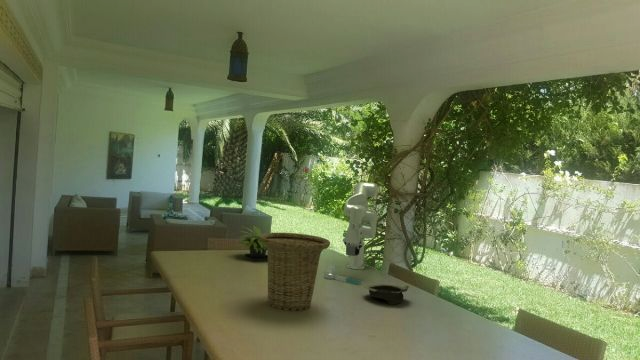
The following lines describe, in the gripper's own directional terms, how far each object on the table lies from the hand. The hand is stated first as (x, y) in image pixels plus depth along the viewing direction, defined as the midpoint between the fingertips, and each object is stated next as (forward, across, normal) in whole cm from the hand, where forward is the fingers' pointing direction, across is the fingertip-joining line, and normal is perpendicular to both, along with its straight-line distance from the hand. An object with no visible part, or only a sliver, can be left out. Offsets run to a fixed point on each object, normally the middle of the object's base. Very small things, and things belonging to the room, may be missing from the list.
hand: (352, 253), depth 308 cm
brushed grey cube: (+1, 0, 0) cm, 1 cm away
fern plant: (+17, +74, +2) cm, 76 cm away
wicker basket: (+15, -5, +77) cm, 78 cm away
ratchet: (+16, +1, +9) cm, 19 cm away
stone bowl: (+16, -36, +29) cm, 49 cm away
